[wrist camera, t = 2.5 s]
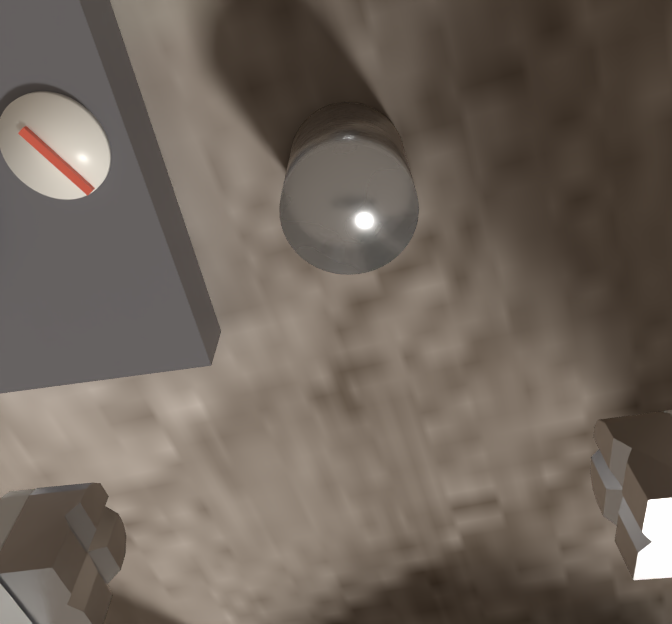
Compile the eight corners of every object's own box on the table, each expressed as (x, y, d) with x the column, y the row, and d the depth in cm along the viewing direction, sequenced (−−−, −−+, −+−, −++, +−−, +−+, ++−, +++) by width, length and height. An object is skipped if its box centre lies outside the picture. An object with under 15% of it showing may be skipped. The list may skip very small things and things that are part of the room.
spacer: (397, 92, 22) (411, 134, 17) (409, 204, 24) (424, 264, 20) (279, 112, 22) (265, 158, 18) (302, 221, 24) (295, 282, 20)
